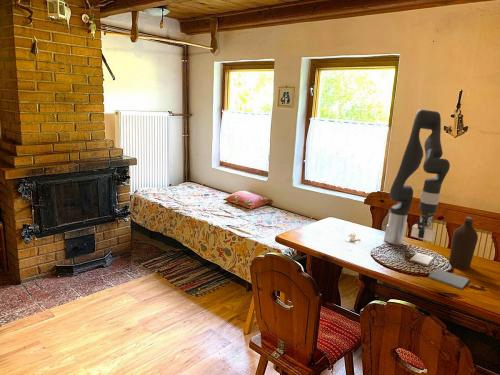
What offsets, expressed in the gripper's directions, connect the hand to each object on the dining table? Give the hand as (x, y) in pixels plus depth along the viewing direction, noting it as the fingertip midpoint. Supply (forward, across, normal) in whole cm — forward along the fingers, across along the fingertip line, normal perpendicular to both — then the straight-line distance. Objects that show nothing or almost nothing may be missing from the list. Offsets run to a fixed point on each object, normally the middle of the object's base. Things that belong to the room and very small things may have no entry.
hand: (422, 236), depth 174 cm
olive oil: (+17, -23, +13) cm, 31 cm away
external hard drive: (+17, -14, -2) cm, 22 cm away
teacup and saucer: (+18, -9, -35) cm, 40 cm away
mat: (+17, -1, +14) cm, 22 cm away
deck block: (+1, 0, 0) cm, 1 cm away
